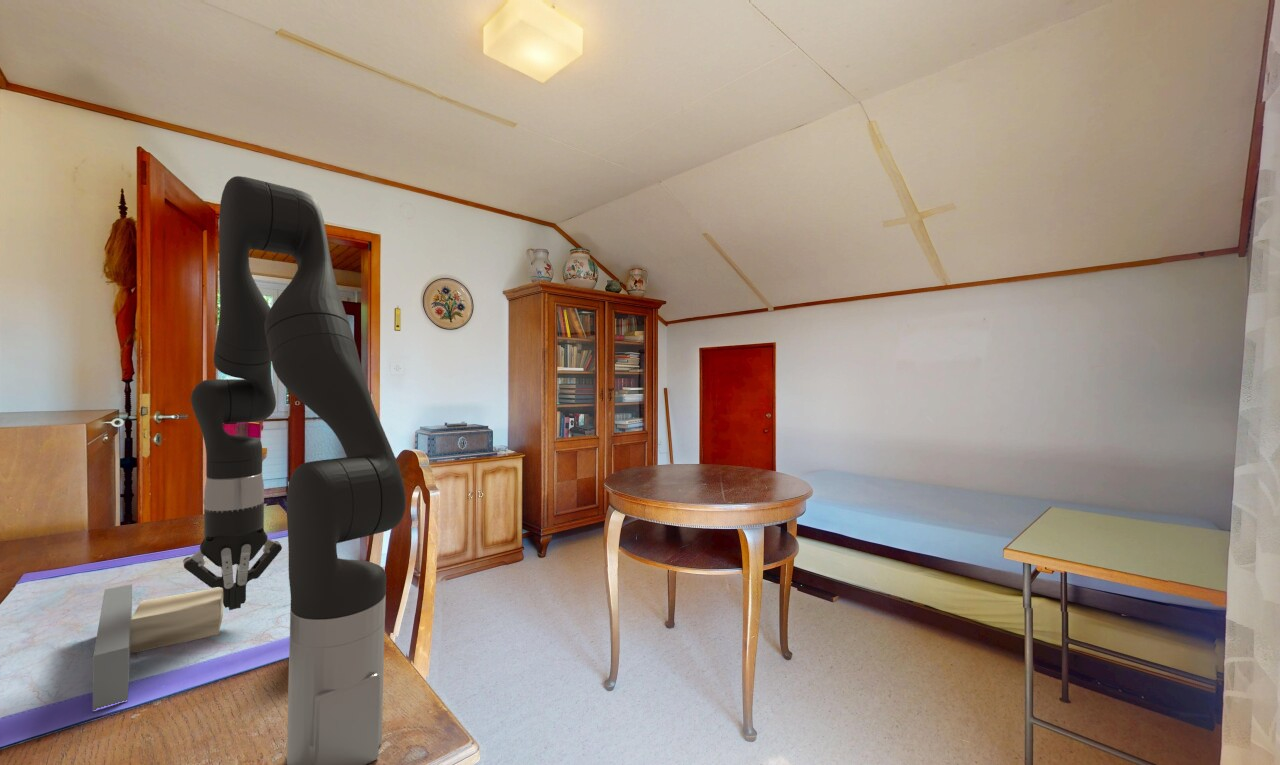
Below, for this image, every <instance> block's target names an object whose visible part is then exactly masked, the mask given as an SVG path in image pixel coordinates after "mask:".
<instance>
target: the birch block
mask: <svg viewBox="0 0 1280 765" xmlns="http://www.w3.org/2000/svg"><path fill="white" fill-rule="evenodd" d="M223 616H224V604H223V588H221V587H215V588H209V589H204V590H197V591H191V592H186V593H180V594H173V595H172V594H171V595H168V596H166V595H165V596H162V597H155V598H149V599H144V600H141V601H140V602H139V604H138V606H137V607H136V609H135V611H134V613H133V614H132V618H131V633H130V654H132V653H136V652H142V651H146V650H151V649H156V648H161V647H166V646H170V645H174V644H175V645H176V644H179V643H185V642H190V641H193V640H194V641H195V640H198V639H203V638H208V637H209V638H210V637H214V636H218V635H220V630H221V626H222V621H223V618H224V617H223Z"/></svg>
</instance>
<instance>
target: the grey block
mask: <svg viewBox="0 0 1280 765" xmlns="http://www.w3.org/2000/svg"><path fill="white" fill-rule="evenodd" d="M102 598H103V599H102V604H101V610H100V615H99V622H98V629H97V633H96V638H95V639H96V640H95V645H94V650H93V651H94V652H93V656H92V657H93V660H92V661H93V663H92V664H93V666H92V668H93V669H92V670H93V672H92V674H93V675H92V711H93V710H96V709H97V708H101V707H104V706H108V705H111V704H115V703H118V702H122V701H126V700H128V701H129V686H130V685H129V683H130V682H129V679H130V663H131V662H130V661H131V653H130V633H131V618H132V616H133V613H132V612H133V611H132V610H133V609H132V608H133V584H131V583H130V584H127V585H120V586H116V587H110V588H106V589H104V592H103V597H102Z"/></svg>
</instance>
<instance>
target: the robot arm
mask: <svg viewBox="0 0 1280 765" xmlns="http://www.w3.org/2000/svg"><path fill="white" fill-rule="evenodd" d="M220 198H221V199H220V204H219V217H218V251H219V252H218V278H219V280H218V281H219V298H220V299H219V320H218V326H217V332H216V333H217V334H216V339H215V344H214V353H213V365H214V367H215V369H216V370H218V371H219V372H220V373H222V374H223V375H226V376H230V377H232V378H231V379H229V378H227V379H226V378H225V379H223V378H222V379H218V378H217V379H216V378H215V379H213V378H212V379H204V380H202V381H200V382H199V383H197V385H196V386H195V387H194V388H193V390H192V391H191V394H190V395H191V396H190V403H191V404H190V405H191V407H192V410H193V414H194V416H195V419H196V421H197V423H198V425H199V427H200V428H199V429H200V431H201V434H202V438H203V441H204V446H205V453H206V458H205V459H206V461H205V462H206V465H205V467H206V471H205V472H206V480H205V486H204V493H203V495H204V497H203V501H202V502H203V507H204V508H203V510H204V511H203V513H204V514H203V519H204V520H203V525H204V526H203V530H204V531H203V534H204V537H203V541H202V542H201V543H200V545H199V550H198V551H197V552H195V553H194V554H193V555H191V556H187V557H185V558H184V559H183V560H182V562H183V563H182V564H183V568H184V569H185V570H186V571H188V572H189V573H190V574H191V575H193V576H195V577H196V578H197V579H198V580H200V581H201V582H202V583H204V584H205V585H207V586H208V587H209V588H210V589H214V588H220V587H221V588H223V607H224V608H228V610H229V611H233V610H236V609H241V608H242V606H241V605H242V604H243V605H244V604H245V602H246V601H247V584H248V583H249V582H250V581H252V580H257V579H259V577H261V575H262V574H263V573H264V572H265V570H267V568H268V566H270V565H271V563H272V562H273V561H274V559H275V558H276V557H277V556H278V555H279V554H280V552H281V551H282V549H283V547H282V545H281V543H280V542H279V541H277V540H271V539H269V538H268V535H267V533H266V531H265V527H264V526H265V485H264V479H263V444H262V441H261V440H260V439H258V438H256V437H251V436H245V435H243V436H241V435H234V434H229V433H228V432H226V431H225V429H224V424H238V423H239V424H240V423H256V422H257V423H258V422H262V421H265V420H266V419H269V418H270V417H271V416H272V414H273V413H274V412H275V410H276V407H277V405H276V404H277V400H276V394H275V390H274V386H273V385H274V384H273V380H272V368H273V370H274V372H275V375H276V377H277V378H278V380H279V381H280V382H281V384H282V385H283V386H284V387H285V388H286V389H288V391H289V392H290V393H291V394H292V395H293V396H295V397H296V399H298V400H299V401H300V402H301V403H303V405H305V406H306V407H307V409H309V410H311V411H312V412H313V413H314V414H315V415H317V417H319V418H320V419H321V420H322V421H323V422H324V423H325V424H326V425H327V426H328V427H329V428H330V429H331V431H332V432H333V434H334V435H335V436H336V438H337V439H338V440H339V443H340V444H341V446H342V449H343V452H344V454H345V455H346V456H345V457H338V458H330V459H329V458H328V459H322V460H321V459H320V460H313V461H308V462H303V463H301V464H300V465H298V466H297V467H296V468H295V469H294V471H293V472H292V474H291V476H290V479H289V481H288V486H287V494H286V521H287V522H286V524H287V543H288V544H287V545H288V547H287V548H288V580H289V581H288V582H289V592H290V613H289V614H290V615H289V616H290V617H289V620H290V621H289V644H288V646H289V647H288V648H289V649H288V650H289V652H288V687H287V688H288V692H287V696H288V697H287V725H286V726H287V729H286V730H287V733H286V736H287V737H286V739H287V740H286V742H287V743H286V765H367V764H370V763H372V762H374V761H376V760H378V758H379V748H380V745H381V743H382V739H383V711H384V709H383V708H384V707H383V706H384V705H383V704H384V702H383V701H384V700H383V698H384V670H385V668H384V663H385V662H384V661H385V628H386V624H385V623H386V621H385V620H386V601H387V600H386V598H387V595H386V594H387V574H386V571H385V569H384V568H383V567H382V566H381V565H380V564H377V563H374V562H371V561H367V560H361V559H346V558H339V557H338V551H337V545H338V544H340V543H344V542H349V541H353V540H356V539H357V540H358V539H361V538H365V537H366V538H367V537H369V536H373V535H377V534H381V533H385V532H388V531H390V530H393V529H395V528H397V527H398V526H399V524H401V522H402V521H403V518H404V516H405V512H406V508H407V507H406V505H407V503H406V502H407V500H406V499H407V497H406V495H407V494H406V489H405V483H404V478H403V475H402V472H401V469H400V466H399V464H398V462H397V458H396V456H395V453H394V450H393V449H392V446H391V444H390V442H389V439H388V437H387V435H386V433H385V430H384V427H383V426H382V422H381V420H380V417H379V416H378V413H377V411H376V408H375V405H374V403H373V400H372V398H371V394H370V391H369V388H368V385H367V382H366V378H365V375H364V370H363V368H362V363H361V361H360V356H359V353H358V348H357V344H356V341H355V338H354V334H353V331H352V326H351V324H350V321H349V319H348V316H347V313H346V311H345V307H344V304H343V301H342V298H341V295H340V291H339V288H338V284H337V280H336V277H335V272H334V268H333V263H332V257H331V252H330V246H329V241H328V235H327V230H326V229H327V228H326V225H325V220H324V217H323V212H322V210H321V208H320V205H319V203H318V202H317V199H315V197H314V196H312V195H311V194H309V193H307V192H304V191H303V190H300V189H296V188H292V187H288V186H285V185H280V184H275V183H272V182H269V181H263V180H260V179H255V178H252V177H247V176H239V175H237V176H233V177H231V178H230V179H229V180H228V181H227V182H226V184H225V186H224V188H223V191H222V193H221V197H220ZM251 250H255V251H262V252H269V253H276V254H283V255H288V256H291V257H292V258H294V260H295V261H296V264H297V270H296V272H295V274H294V276H293V278H292V279H291V281H290V282H289V283H288V285H287V286H286V287H285V289H284V290H282V292H281V293H280V295H279V296H277V299H276V300H275V301H274V303H273V304H272V305H271V306H270V305H269V303H268V301H267V300H266V298H265V297H264V295H263V294H262V292H261V290H260V289H259V287H258V286H257V282H256V281H255V279H254V277H253V274H252V272H251V268H250V263H249V262H250V259H249V258H250V251H251ZM233 378H238V379H233ZM261 549H262V552H263V553H262V554H261V555H260V557H259V558H258V559H257V560H256V561H255V563H253V565H252V566H251V568H250V561H252V560H253V559H255V557H256V556H257V555H258V553H259V552H260V550H261ZM204 557H205V558H207V559H208V560H209V561H210V562H212V564H214V565H215V566H217V567H219V568H220V570H221V576H218V575H216V574H215V573H214V572H212V571H211V570H210V569H208V568H207V567H205V565H206V564H205V563H206V562H205V559H204ZM235 565H236V570H235V571H236V572H235V581H234V571H233V566H235Z"/></svg>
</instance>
